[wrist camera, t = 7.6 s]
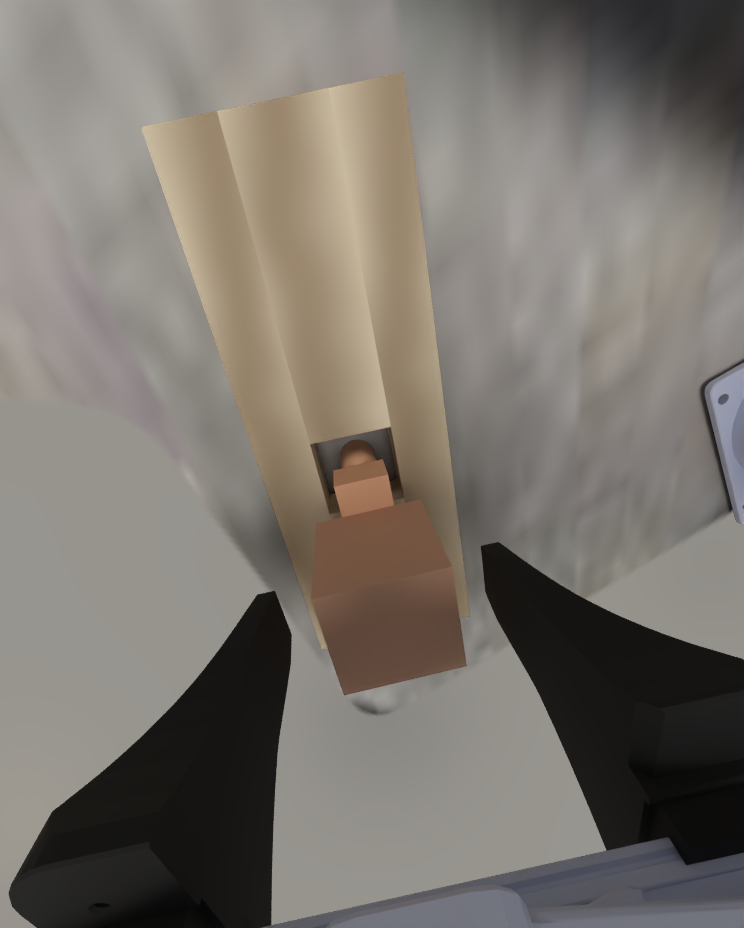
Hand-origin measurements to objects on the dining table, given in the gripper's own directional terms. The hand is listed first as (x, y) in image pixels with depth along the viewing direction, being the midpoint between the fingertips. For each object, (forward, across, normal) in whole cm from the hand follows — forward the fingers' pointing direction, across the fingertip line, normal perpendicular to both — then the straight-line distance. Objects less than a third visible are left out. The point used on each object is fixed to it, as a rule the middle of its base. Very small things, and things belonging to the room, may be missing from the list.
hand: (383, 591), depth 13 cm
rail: (+7, 0, -4) cm, 8 cm away
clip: (+7, 0, 0) cm, 7 cm away
